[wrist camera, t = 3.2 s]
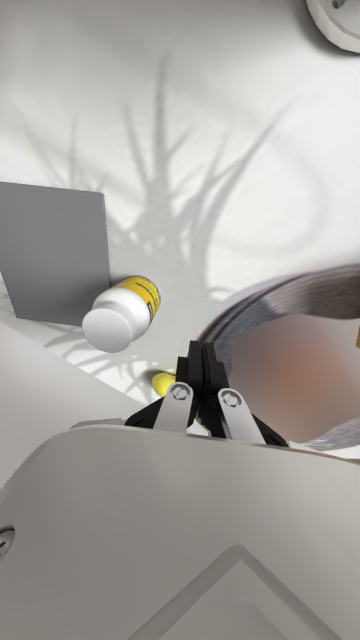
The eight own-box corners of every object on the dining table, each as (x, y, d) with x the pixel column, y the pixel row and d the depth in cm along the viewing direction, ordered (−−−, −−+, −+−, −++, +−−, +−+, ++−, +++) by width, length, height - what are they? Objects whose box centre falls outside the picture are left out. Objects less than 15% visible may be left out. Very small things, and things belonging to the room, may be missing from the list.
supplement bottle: (168, 306, 22) (152, 350, 14) (133, 320, 24) (97, 367, 15) (150, 267, 20) (116, 288, 12) (113, 284, 22) (57, 315, 13)
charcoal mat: (103, 194, 18) (101, 192, 17) (113, 328, 24) (112, 330, 24) (-27, 179, 18) (-32, 178, 17) (20, 316, 25) (17, 317, 24)
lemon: (160, 362, 27) (155, 380, 23) (204, 382, 28) (205, 402, 24) (150, 379, 28) (143, 398, 25) (191, 397, 29) (191, 418, 26)
